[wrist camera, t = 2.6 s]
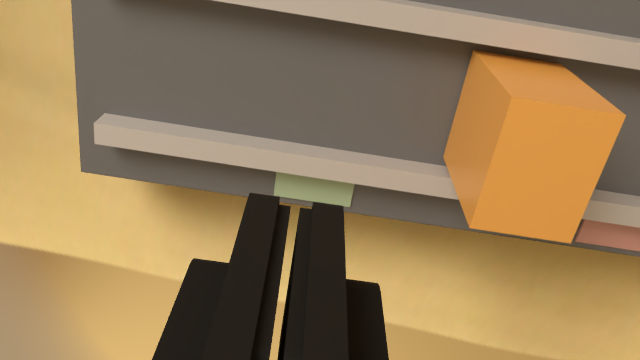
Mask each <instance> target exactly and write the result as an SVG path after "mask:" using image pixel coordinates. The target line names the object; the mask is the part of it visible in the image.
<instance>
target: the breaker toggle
mask: <svg viewBox="0 0 640 360" xmlns="http://www.w3.org/2000/svg"><path fill="white" fill-rule="evenodd" d="M625 117H626V115H625V114H624V113H623V112H621V111H620V110H619V109H618V108H616V107H615V106H614V105H612V104H611V103H610V102H609V101H607V100H606V99H605V98H603V97H602V96H601V95H600V94H598V93H597V92H596V91H595V90H593V89H592V88H591V87H589V86H588V85H587V84H586V83H584V82H583V81H582V80H581V79H579V78H578V77H577V76H575V75H574V74H573V73H572V72H570V71H569V70H568V69H567V68H565V67H564V66H563V65H561V64H558V63H552V62H546V61H540V60H533V59H527V58H521V57H515V56H509V55H503V54H497V53H490V52H484V51H478V50H473V52H472V56H471V59H470V63H469V66H468V70H467V74H466V77H465V81H464V84H463V88H462V91H461V95H460V99H459V102H458V106H457V109H456V113H455V116H454V120H453V123H452V127H451V131H450V134H449V138H448V141H447V145H446V148H445V152H444V156H443V158H444V160H445V163H446V166H447V169H448V171H449V174H450V177H451V179H452V182H453V185H454V188H455V190H456V193H457V196H458V198H459V201H460V204H461V207H462V209H463V212H464V215H465V217H466V220H467V223H468V226H469V228H472V229H479V230H485V231H492V232H498V233H505V234H511V235H518V236H524V237H531V238H538V239H544V240H551V241H557V242H564V243H570V244H571V242H572V239H573V237H574V235H575V233H576V230H577V228H578V226H579V223H580V221H581V219H582V216H583V214H584V212H585V209H586V207H587V205H588V203H589V200H590V198H591V196H592V193H593V191H594V189H595V186H596V184H597V182H598V180H599V177H600V175H601V173H602V170H603V168H604V166H605V163H606V161H607V159H608V157H609V154H610V152H611V150H612V147H613V145H614V143H615V140H616V138H617V136H618V133H619V131H620V129H621V127H622V124H623V122H624V120H625Z"/></svg>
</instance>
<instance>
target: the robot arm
mask: <svg viewBox="0 0 640 360" xmlns="http://www.w3.org/2000/svg"><path fill="white" fill-rule="evenodd" d="M279 201H280V197H278V196H271V195H264V194H257V193H249V196H248V200H247V203H246V206H245V210H244V213H243V217H242V220H241V224H240V227H239V231H238V234H237V238H236V241H235V245H234V248H233V252H232V255H231V259H230V262H229V263H224V262H217V261H209V260H202V259H195V258H194V259H193V260H192V261H191V263H190V265H189V268H188V270H187V273H186V275H185V278H184V280H183V283H182V285H181V288H180V290H179V293H178V295H177V298H176V300H175V303H174V305H173V308H172V311H171V313H170V316H169V318H168V321H167V323H166V326H165V328H164V331H163V333H162V336H161V338H160V341H159V343H158V346H157V349H156V351H155V354H154V356H153V359H152V360H269V357H270V350H271V343H272V336H273V328H274V321H275V314H276V307H277V300H278V293H279V286H280V279H281V271H282V264H283V257H284V250H285V243H286V236H287V229H288V222H289V215H290V207H291V206H285V205H279ZM278 360H389V358H388V350H387V342H386V333H385V324H384V316H383V308H382V299H381V291H380V287H379V285H378V283H371V282H364V281H357V280H349V279H346V267H345V236H344V208H343V206H341V205H334V204H327V203H320V202H313V204H312V209H306V208H300V212H299V219H298V225H297V232H296V238H295V245H294V251H293V258H292V264H291V270H290V277H289V283H288V290H287V296H286V303H285V309H284V316H283V323H282V329H281V336H280V345H279V352H278Z"/></svg>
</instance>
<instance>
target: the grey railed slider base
mask: <svg viewBox="0 0 640 360" xmlns="http://www.w3.org/2000/svg"><path fill="white" fill-rule="evenodd" d="M71 4H72V22H73V39H74V57H75V74H76V91H77V109H78V126H79V144H80V161H81V172H86V173H93V174H99V175H106V176H113V177H119V178H126V179H132V180H139V181H145V182H152V183H159V184H165V185H172V186H178V187H185V188H191V189H198V190H205V191H211V192H218V193H224V194H231V195H237V196H244V197H248V196H249V193H257V194H264V195H271V196H278V197H280V201H279V202H283V203H290V204H297V205H303V206H310V207H312V204H313V202H320V203H327V204H334V205H341V206H343V208H344V212H349V213H356V214H362V215H369V216H375V217H382V218H388V219H395V220H402V221H408V222H415V223H421V224H428V225H434V226H441V227H448V228H454V229H461V230H467V231H474V232H480V233H487V234H494V235H500V236H507V237H513V238H520V239H526V240H533V241H540V242H546V243H553V244H559V245H566V246H572V247H579V248H586V249H592V250H599V251H605V252H612V253H618V254H625V255H631V256H638V257H640V0H71ZM473 50H478V51H484V52H490V53H497V54H503V55H509V56H515V57H521V58H527V59H533V60H540V61H546V62H552V63H558V64H561V65H563V66H564V67H565V68H567V69H568V70H569V71H570V72H572V73H573V74H574V75H575V76H577V77H578V78H579V79H581V80H582V81H583V82H584V83H586V84H587V85H588V86H589V87H591V88H592V89H593V90H595V91H596V92H597V93H598V94H600V95H601V96H602V97H603V98H605V99H606V100H607V101H609V102H610V103H611V104H612V105H614V106H615V107H616V108H618V109H619V110H620V111H621V112H623V113H624V114H625V115H626V117H625V120H624V122H623V124H622V127H621V129H620V131H619V133H618V136H617V138H616V140H615V143H614V145H613V147H612V150H611V152H610V154H609V157H608V159H607V161H606V163H605V166H604V168H603V170H602V173H601V175H600V177H599V180H598V182H597V184H596V186H595V189H594V191H593V193H592V196H591V198H590V200H589V203H588V205H587V207H586V209H585V212H584V214H583V216H582V219H581V221H580V223H579V226H578V228H577V230H576V233H575V235H574V237H573V239H572V242H571V244H570V243H564V242H557V241H551V240H544V239H538V238H531V237H524V236H518V235H511V234H505V233H498V232H492V231H485V230H479V229H472V228H469V226H468V223H467V220H466V217H465V215H464V212H463V209H462V207H461V204H460V201H459V198H458V196H457V193H456V190H455V188H454V185H453V182H452V179H451V177H450V174H449V171H448V169H447V166H446V163H445V160H444V158H443V156H444V152H445V148H446V145H447V141H448V138H449V134H450V131H451V127H452V123H453V120H454V116H455V113H456V109H457V106H458V102H459V99H460V95H461V91H462V88H463V84H464V81H465V77H466V74H467V70H468V66H469V63H470V59H471V56H472V52H473Z"/></svg>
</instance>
